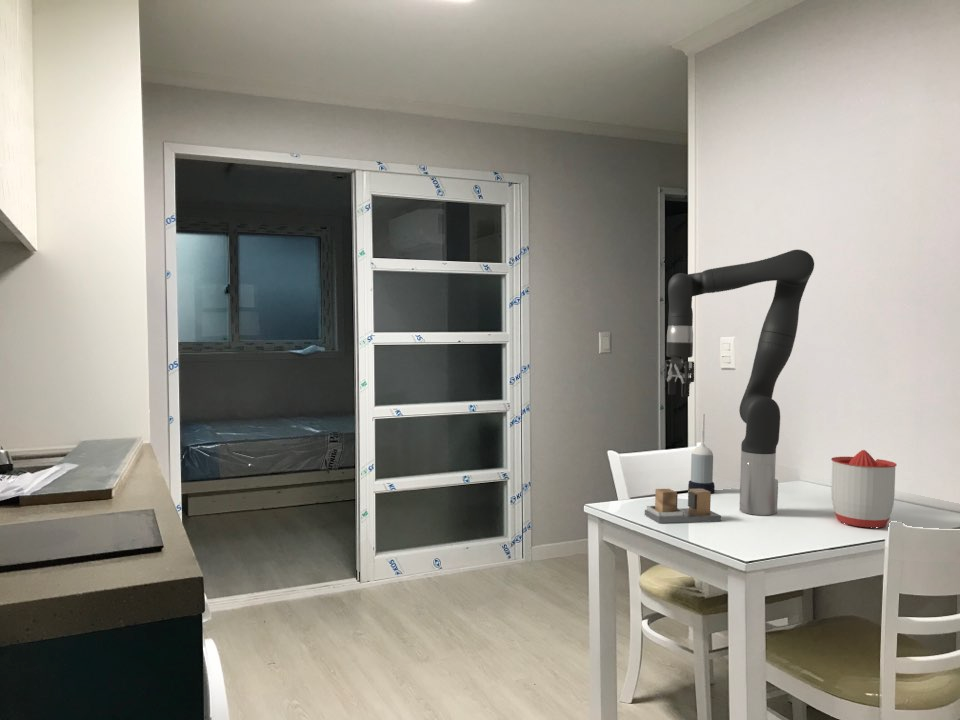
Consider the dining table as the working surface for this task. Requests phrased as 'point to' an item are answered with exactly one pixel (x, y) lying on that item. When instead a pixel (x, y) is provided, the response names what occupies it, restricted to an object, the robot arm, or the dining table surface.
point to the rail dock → (687, 510)
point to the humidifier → (702, 466)
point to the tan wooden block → (665, 500)
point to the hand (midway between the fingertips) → (678, 395)
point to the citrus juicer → (863, 490)
